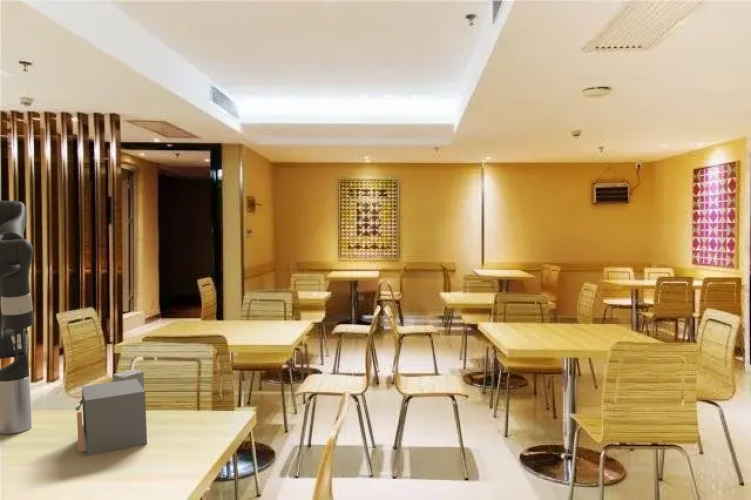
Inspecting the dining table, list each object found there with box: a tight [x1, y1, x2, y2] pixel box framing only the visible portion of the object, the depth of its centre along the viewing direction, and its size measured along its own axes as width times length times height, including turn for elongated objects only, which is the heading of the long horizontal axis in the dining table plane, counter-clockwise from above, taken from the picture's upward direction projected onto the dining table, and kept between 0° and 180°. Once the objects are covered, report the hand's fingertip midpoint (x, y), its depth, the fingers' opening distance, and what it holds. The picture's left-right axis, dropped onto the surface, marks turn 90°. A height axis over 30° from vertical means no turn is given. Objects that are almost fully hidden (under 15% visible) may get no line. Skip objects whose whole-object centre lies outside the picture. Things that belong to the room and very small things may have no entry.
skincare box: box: [112, 368, 145, 390], centre depth 198 cm, size 8×7×16 cm
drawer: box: [76, 411, 87, 452], centre depth 174 cm, size 15×16×11 cm
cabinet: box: [81, 379, 148, 456], centre depth 175 cm, size 18×16×16 cm
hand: (23, 368), depth 164 cm, fingers closed
